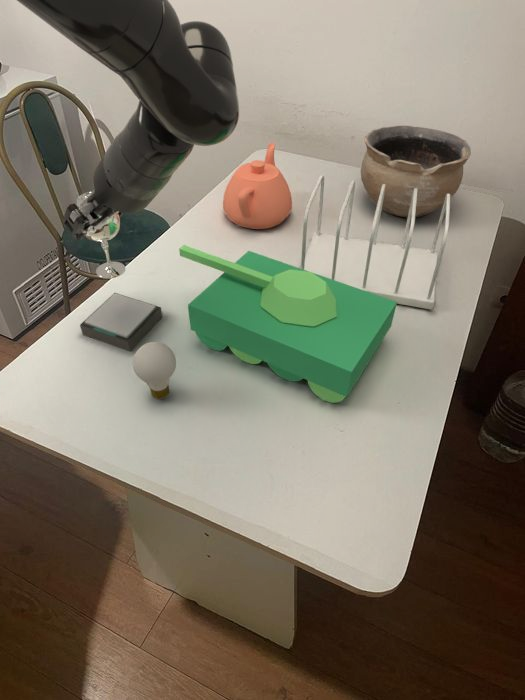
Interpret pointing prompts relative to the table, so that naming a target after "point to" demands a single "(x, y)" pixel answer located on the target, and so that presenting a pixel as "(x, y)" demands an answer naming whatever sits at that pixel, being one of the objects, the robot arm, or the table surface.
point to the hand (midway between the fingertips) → (93, 225)
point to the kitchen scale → (121, 321)
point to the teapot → (258, 194)
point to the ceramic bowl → (412, 167)
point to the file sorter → (376, 256)
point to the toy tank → (290, 320)
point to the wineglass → (104, 242)
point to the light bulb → (155, 367)
